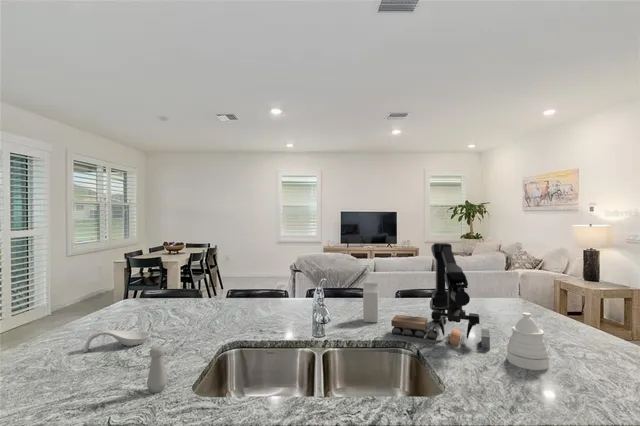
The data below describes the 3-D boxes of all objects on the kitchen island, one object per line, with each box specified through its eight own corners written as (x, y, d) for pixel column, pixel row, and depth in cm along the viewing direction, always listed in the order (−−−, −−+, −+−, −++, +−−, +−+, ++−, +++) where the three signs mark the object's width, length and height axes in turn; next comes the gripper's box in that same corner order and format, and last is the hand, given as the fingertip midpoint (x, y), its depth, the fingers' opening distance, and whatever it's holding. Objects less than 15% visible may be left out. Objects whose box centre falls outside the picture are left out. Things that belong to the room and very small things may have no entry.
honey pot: (549, 373, 116) (548, 319, 116) (506, 364, 123) (505, 313, 123) (548, 359, 127) (547, 310, 127) (508, 352, 133) (507, 305, 134)
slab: (396, 319, 161) (396, 314, 162) (427, 323, 156) (427, 318, 156) (391, 326, 152) (391, 320, 152) (424, 330, 147) (424, 324, 147)
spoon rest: (149, 337, 154) (149, 321, 154) (150, 345, 144) (150, 328, 144) (86, 347, 143) (86, 329, 143) (82, 357, 133) (82, 338, 133)
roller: (451, 337, 151) (450, 328, 151) (461, 338, 150) (460, 329, 150) (449, 345, 142) (449, 335, 142) (459, 346, 141) (459, 336, 141)
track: (397, 328, 163) (397, 320, 163) (464, 337, 150) (464, 328, 150) (390, 337, 151) (390, 328, 151) (463, 347, 139) (463, 337, 139)
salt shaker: (151, 385, 109) (151, 344, 109) (170, 384, 110) (170, 343, 110) (143, 395, 103) (143, 351, 103) (163, 394, 104) (163, 350, 104)
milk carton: (377, 322, 172) (377, 284, 172) (363, 322, 173) (363, 284, 173) (378, 318, 179) (377, 282, 179) (364, 318, 180) (364, 281, 180)
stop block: (481, 340, 146) (481, 328, 146) (489, 341, 145) (489, 329, 145) (481, 348, 137) (481, 336, 137) (490, 350, 136) (489, 337, 136)
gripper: (429, 302, 143) (429, 339, 143) (479, 306, 135) (479, 346, 135) (432, 296, 153) (433, 331, 153) (479, 300, 145) (479, 337, 145)
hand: (455, 336), depth 146 cm, fingers open, 9 cm apart
